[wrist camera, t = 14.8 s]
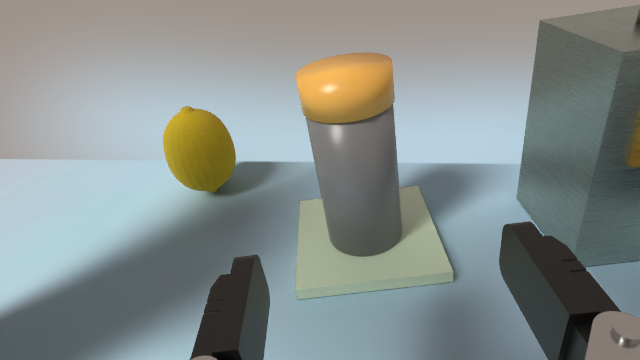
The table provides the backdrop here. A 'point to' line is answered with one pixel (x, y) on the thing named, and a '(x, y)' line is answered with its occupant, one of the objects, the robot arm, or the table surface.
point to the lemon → (199, 149)
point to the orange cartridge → (354, 149)
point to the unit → (586, 135)
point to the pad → (371, 271)
